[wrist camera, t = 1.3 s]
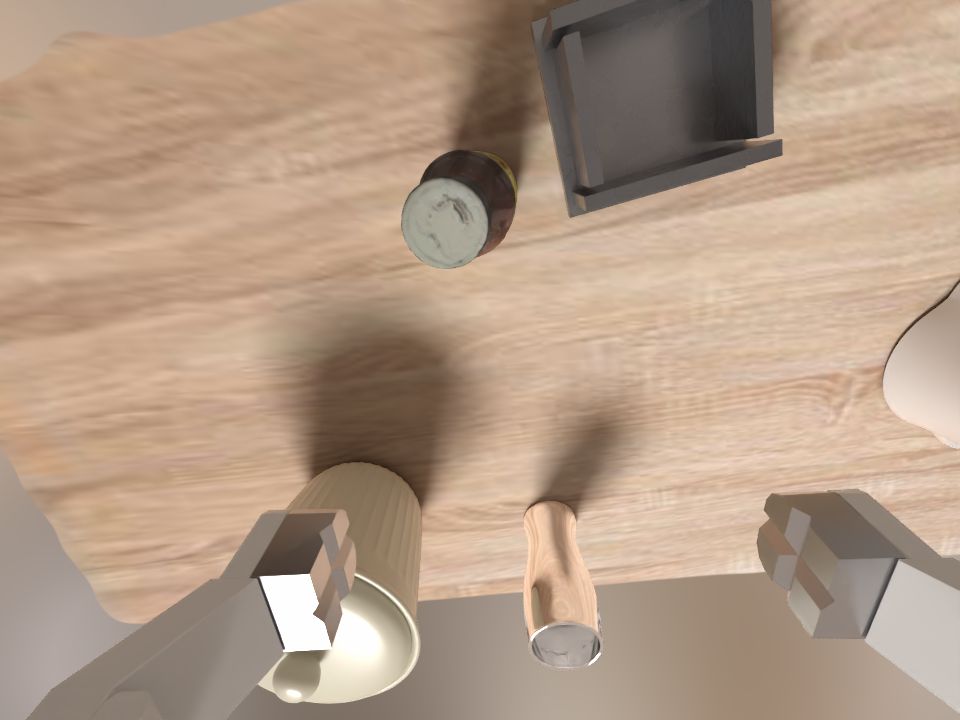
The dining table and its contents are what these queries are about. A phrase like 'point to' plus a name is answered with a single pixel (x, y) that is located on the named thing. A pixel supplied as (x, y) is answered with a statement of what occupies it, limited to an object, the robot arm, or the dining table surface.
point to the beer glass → (559, 592)
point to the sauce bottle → (459, 208)
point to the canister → (363, 591)
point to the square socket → (654, 94)
